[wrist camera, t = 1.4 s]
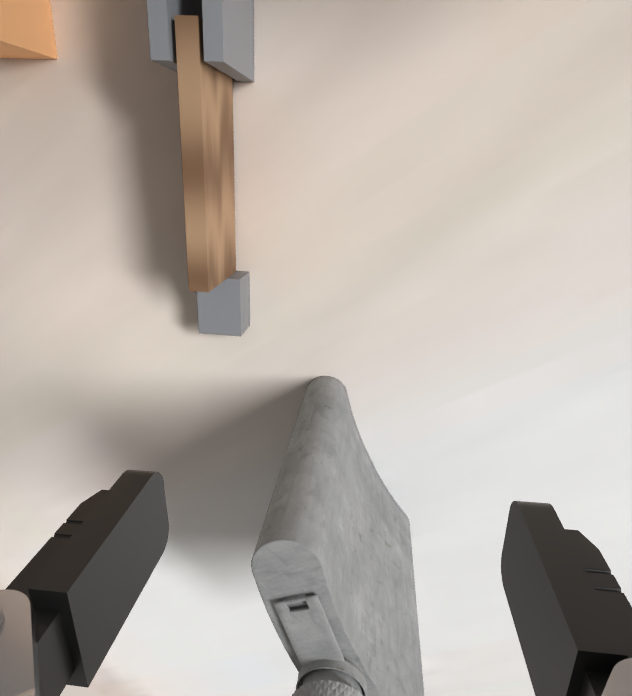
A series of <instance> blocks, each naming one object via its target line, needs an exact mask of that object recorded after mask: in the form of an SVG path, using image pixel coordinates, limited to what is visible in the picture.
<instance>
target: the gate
mask: <svg viewBox="0 0 632 696" xmlns="http://www.w3.org/2000/svg"><path fill="white" fill-rule="evenodd" d="M174 16H175V35H176V55H177V74H178V93H179V112H180V131H181V150H182V169H183V188H184V207H185V226H186V245H187V264H188V283H189V291H196V292H210V291H211V290H212V289H214V288H215V287H216V286H218V285H219V284H220V283H222V282H223V281H224V280H226V279H227V278H228V277H230V276H231V275H232V274H234V273H235V272H236V256H235V200H234V144H233V88H232V77H230V76H228V75H227V74H225V73H223V72H222V71H220V70H218V69H216V68H215V67H213V66H211V65H210V64H208V63H206V62H205V61H204V44H203V19H201V18H200V17H199V16H191V15H174Z"/></svg>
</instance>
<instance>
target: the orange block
mask: <svg viewBox="0 0 632 696" xmlns="http://www.w3.org/2000/svg"><path fill="white" fill-rule="evenodd" d="M0 58H27V59H57V52H56V44H55V36H54V28H53V20H52V12H51V4H50V0H0Z"/></svg>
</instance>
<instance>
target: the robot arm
mask: <svg viewBox="0 0 632 696" xmlns="http://www.w3.org/2000/svg"><path fill="white" fill-rule="evenodd" d="M168 531H169V524H168V516H167V508H166V499H165V491H164V483H163V478H162V475H161V474H160V473H159V472H149V471H136V470H127V471H125V472H124V473H123V474H122V475H121V477H120V478H119V479H118V480H117V481H116V483H115V484H114V485H113V486H112V487H111V489H110V490H101V491H99V492H98V493H96V494H95V495H93V496H92V497H90V498H89V499H87V500H85V501H84V502H82V503H81V504H80V505H79V506H78V507H77V509H76V510H75V511H74V512H73V513H72V514H71V515H70V516H69V518H68V519H67V522H66V523H63V524H62V526H61V527H60V528H59V529H58V530H57V531H56V532H55V535H54V537H51V538H50V539H49V540H48V542H47V543H46V544H45V545H44V546H43V547H42V548H41V550H40V551H39V552H38V553H37V554H36V555H35V556H34V557H33V559H32V560H31V561H30V562H29V563H28V564H27V565H26V567H25V568H24V569H23V570H22V571H21V572H20V573H19V575H18V576H17V577H16V578H15V579H14V580H13V581H12V583H11V584H10V585H9V586H8V587H7V588H6V589H5V590H0V696H60V694H61V692H62V691H63V689H64V688H65V686H66V685H74V686H81V687H89V685H90V683H91V681H92V680H93V678H94V676H95V674H96V672H97V671H98V669H99V667H100V665H101V663H102V662H103V660H104V658H105V656H106V654H107V653H108V651H109V649H110V647H111V645H112V644H113V642H114V640H115V638H116V636H117V635H118V633H119V631H120V629H121V627H122V626H123V624H124V622H125V620H126V618H127V617H128V615H129V613H130V611H131V610H132V608H133V606H134V604H135V602H136V601H137V599H138V597H139V595H140V593H141V592H142V590H143V588H144V586H145V584H146V583H147V581H148V579H149V577H150V575H151V574H152V572H153V570H154V568H155V566H156V565H157V563H158V561H159V559H160V557H161V556H162V554H163V552H164V549H165V546H166V543H167V539H168ZM501 574H502V582H503V586H504V590H505V593H506V597H507V600H508V604H509V607H510V610H511V614H512V617H513V621H514V624H515V627H516V631H517V634H518V638H519V641H520V644H521V648H522V651H523V655H524V658H525V661H526V665H527V668H528V672H529V675H530V678H531V682H532V685H533V689H534V692H535V695H536V696H632V607H631V605H630V603H629V602H628V600H627V598H626V596H625V595H624V593H621V588H620V586H619V584H618V582H617V581H616V579H615V577H614V575H611V570H610V568H609V567H608V565H607V563H606V561H605V559H604V558H603V556H602V554H601V552H600V551H599V549H598V548H597V547H596V546H595V545H593V544H592V543H591V542H590V541H589V540H588V539H587V538H586V537H585V536H584V535H582V534H581V533H580V532H579V531H578V530H567V529H564V528H563V526H562V524H561V522H560V520H559V518H558V516H557V514H556V512H555V510H554V508H553V506H552V505H551V504H548V503H535V502H522V501H513V502H512V504H511V506H510V511H509V516H508V522H507V528H506V534H505V539H504V545H503V551H502V558H501Z"/></svg>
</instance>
